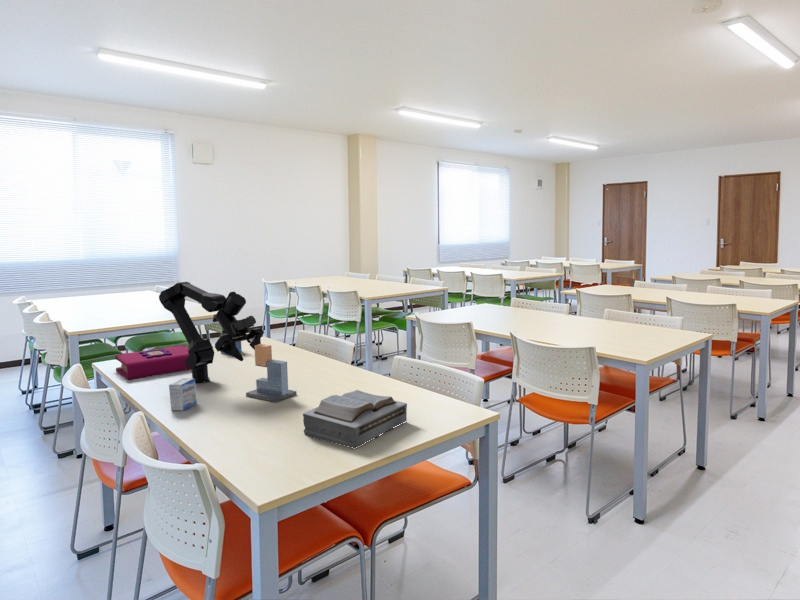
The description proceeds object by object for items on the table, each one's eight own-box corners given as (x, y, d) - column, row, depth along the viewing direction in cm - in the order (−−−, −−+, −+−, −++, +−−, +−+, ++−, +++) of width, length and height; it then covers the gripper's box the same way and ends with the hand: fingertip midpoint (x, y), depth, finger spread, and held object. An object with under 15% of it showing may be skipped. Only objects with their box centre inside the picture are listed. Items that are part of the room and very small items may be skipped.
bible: (293, 431, 155) (292, 397, 154) (366, 408, 174) (365, 378, 172) (344, 454, 139) (343, 417, 137) (418, 427, 157) (418, 394, 156)
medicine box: (183, 411, 172) (181, 384, 171) (170, 410, 173) (168, 384, 172) (197, 403, 180) (195, 378, 179) (184, 402, 181) (183, 377, 180)
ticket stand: (246, 396, 187) (244, 361, 186) (267, 388, 196) (265, 355, 194) (276, 402, 180) (274, 366, 178) (296, 394, 188) (295, 359, 187)
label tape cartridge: (238, 350, 259) (237, 324, 258) (241, 351, 256) (240, 325, 255) (220, 353, 254) (218, 327, 252) (223, 354, 251) (222, 328, 249)
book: (201, 369, 226) (200, 351, 225) (128, 381, 209) (126, 362, 208) (184, 360, 242) (183, 343, 241) (115, 371, 225) (113, 353, 224)
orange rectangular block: (255, 365, 188) (254, 345, 187) (261, 363, 191) (260, 343, 190) (265, 367, 185) (264, 346, 185) (272, 365, 188) (271, 345, 187)
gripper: (218, 313, 183) (243, 348, 179) (259, 305, 199) (282, 338, 195) (204, 333, 188) (227, 368, 184) (245, 325, 204) (267, 357, 200)
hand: (252, 357), depth 191 cm, fingers open, 9 cm apart
